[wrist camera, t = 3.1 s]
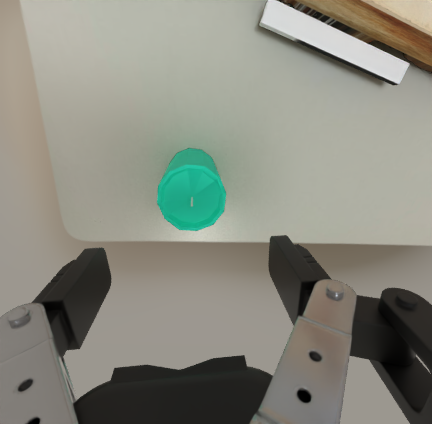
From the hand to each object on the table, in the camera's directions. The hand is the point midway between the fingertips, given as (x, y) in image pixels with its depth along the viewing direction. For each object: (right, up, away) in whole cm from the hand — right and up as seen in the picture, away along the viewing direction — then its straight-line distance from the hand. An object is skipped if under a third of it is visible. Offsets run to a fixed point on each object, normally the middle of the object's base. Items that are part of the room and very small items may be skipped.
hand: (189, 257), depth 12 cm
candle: (-2, +7, +19) cm, 20 cm away
